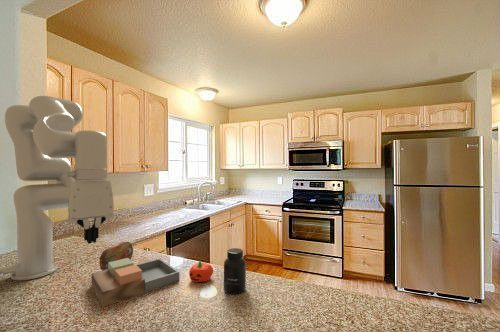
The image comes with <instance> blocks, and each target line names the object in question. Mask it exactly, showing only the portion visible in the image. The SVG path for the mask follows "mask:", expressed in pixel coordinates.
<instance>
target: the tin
mask: <svg viewBox="0 0 500 332" xmlns="http://www.w3.org/2000/svg"><path fill="white" fill-rule="evenodd" d="M133 254H134V248H133V244H132V243H131V242H130V241H123V242H122V241H121V242H119V243H117V244H114V245H112V246H110V247H107V248H105V249H104V250H103V251H102V252H101V254H100V257H99V269H100V271H102V270H106V269H108V262H112V261H117V260H121V259H125V258H129V259H130V260H131V261H132V257H133Z"/></svg>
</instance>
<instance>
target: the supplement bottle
mask: <svg viewBox="0 0 500 332" xmlns="http://www.w3.org/2000/svg"><path fill="white" fill-rule="evenodd" d="M226 256H227V258H225V260H224V262H223V290H224V292H225V293H226V294H228V295H240V294H243V293H244V292H245V291H246V287H247V284H246V283H247V282H246V281H247V277H246V276H247V262H246V259H244V251H243V249H242V248H237V247H236V248H235V247H233V248H229V249H228V250H227V254H226Z"/></svg>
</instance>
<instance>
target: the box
mask: <svg viewBox="0 0 500 332" xmlns="http://www.w3.org/2000/svg"><path fill="white" fill-rule="evenodd" d="M136 265H137V266H138V267H139V268H140V269H141V270H142V277H143V278H144V279H145V293H148V292H151V291H154V290H157V289H159V288H163V287H165V286H168V285H172V284H174V283H177V282H179V281H180V270H177V269H176V268H175V267H173V266H172V265H170V264H169V263H167V262H166V261H164V260H163V259H161V258H157V259H152V260H149V261H145V262H142V263H138V264H136Z"/></svg>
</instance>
